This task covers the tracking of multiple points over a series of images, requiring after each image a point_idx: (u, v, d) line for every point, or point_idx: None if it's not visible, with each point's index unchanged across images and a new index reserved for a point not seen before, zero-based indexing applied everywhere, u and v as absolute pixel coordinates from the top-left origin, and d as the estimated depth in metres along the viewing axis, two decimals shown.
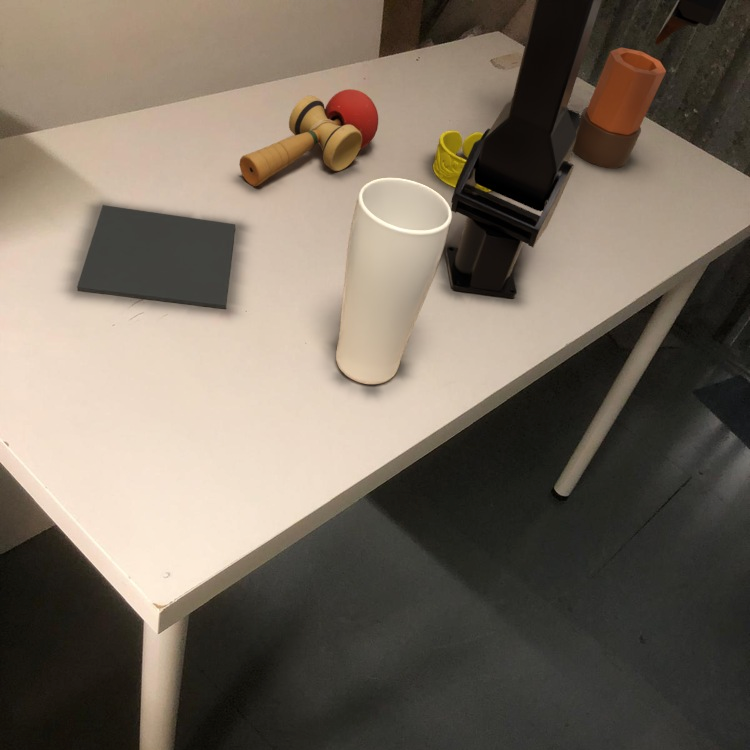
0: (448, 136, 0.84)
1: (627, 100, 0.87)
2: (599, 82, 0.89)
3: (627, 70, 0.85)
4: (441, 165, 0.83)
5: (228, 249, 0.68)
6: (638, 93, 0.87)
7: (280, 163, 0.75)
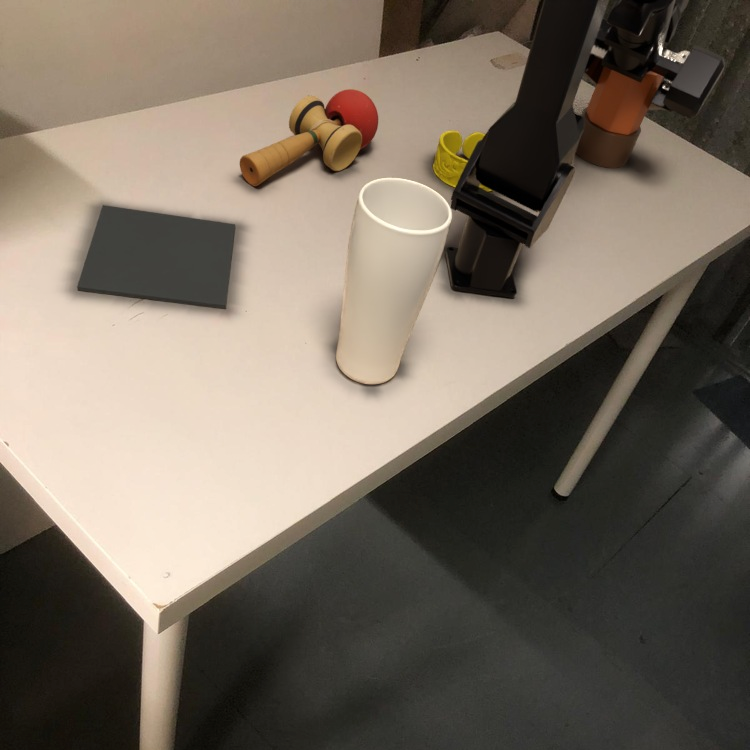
0: (448, 136, 0.84)
1: (627, 100, 0.87)
2: (599, 82, 0.90)
3: None
4: (441, 165, 0.83)
5: (228, 249, 0.68)
6: (638, 93, 0.87)
7: (280, 163, 0.75)
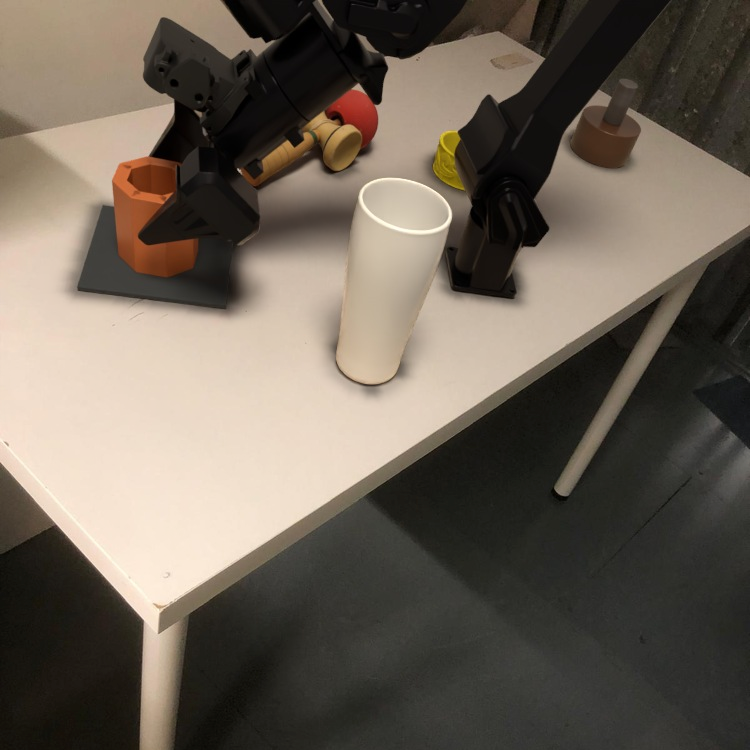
0: (448, 136, 0.84)
1: None
2: None
3: None
4: (441, 165, 0.83)
5: (228, 249, 0.68)
6: None
7: (280, 163, 0.75)
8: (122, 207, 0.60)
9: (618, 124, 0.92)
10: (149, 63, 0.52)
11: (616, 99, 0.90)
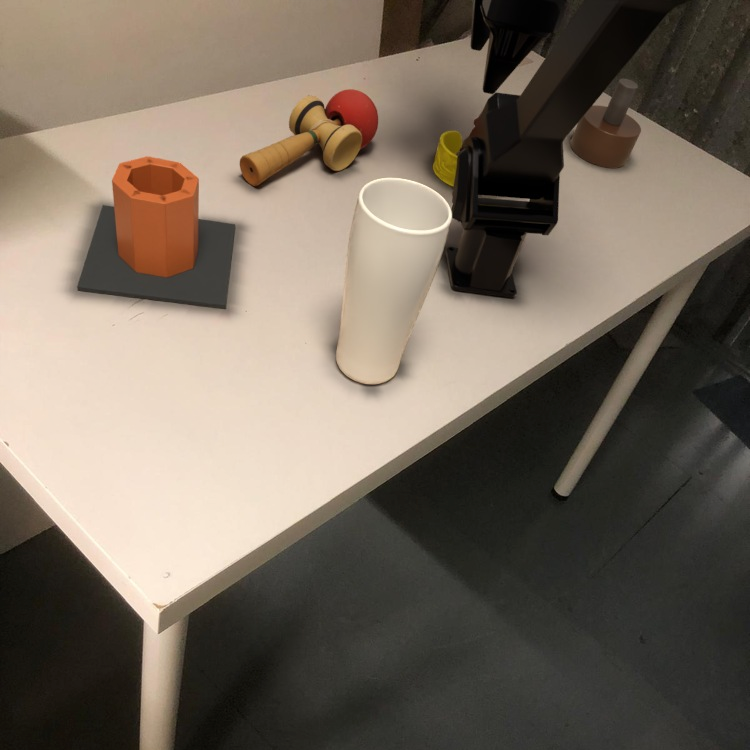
0: (448, 136, 0.84)
1: None
2: (172, 238, 0.61)
3: (197, 187, 0.61)
4: (441, 165, 0.83)
5: (228, 249, 0.68)
6: None
7: (280, 163, 0.75)
8: (122, 207, 0.60)
9: (618, 124, 0.92)
10: None
11: (616, 99, 0.90)
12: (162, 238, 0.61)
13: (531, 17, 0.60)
